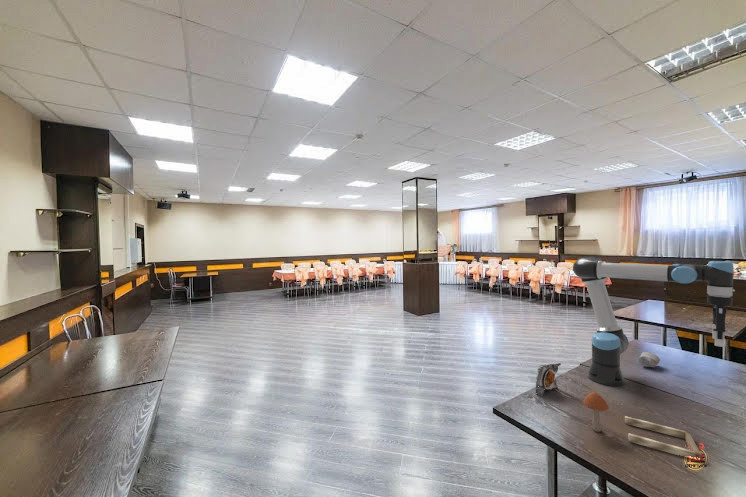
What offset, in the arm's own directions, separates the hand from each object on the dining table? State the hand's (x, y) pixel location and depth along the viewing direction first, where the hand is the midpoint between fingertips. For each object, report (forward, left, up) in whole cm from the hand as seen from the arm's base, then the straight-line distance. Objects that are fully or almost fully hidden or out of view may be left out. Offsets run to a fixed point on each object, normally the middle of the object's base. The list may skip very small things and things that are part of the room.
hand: (717, 342), depth 136 cm
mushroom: (-45, -58, -27) cm, 78 cm away
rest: (-28, -53, -27) cm, 65 cm away
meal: (-63, -34, -27) cm, 76 cm away
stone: (-21, +30, -27) cm, 46 cm away
